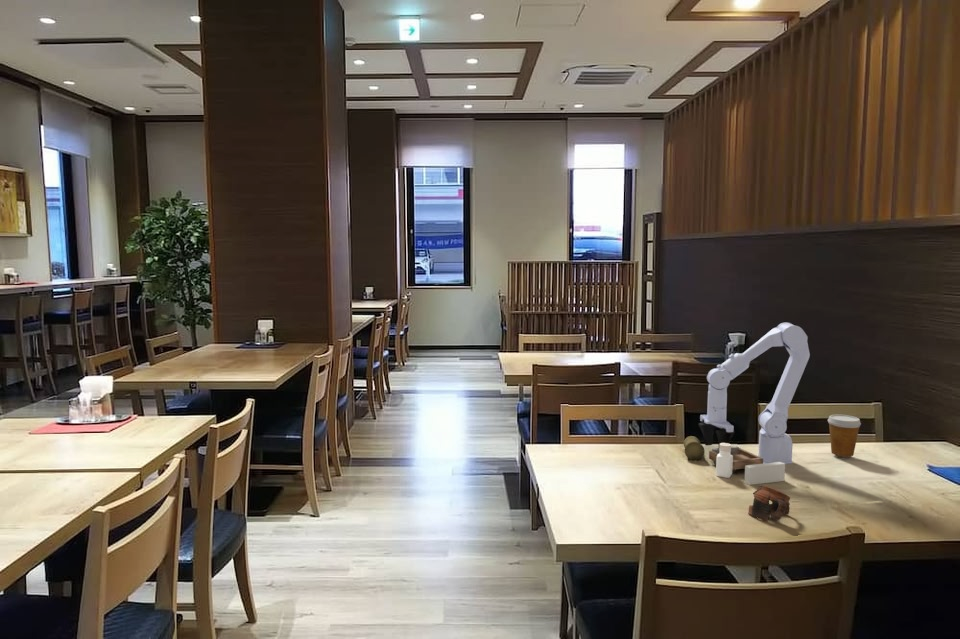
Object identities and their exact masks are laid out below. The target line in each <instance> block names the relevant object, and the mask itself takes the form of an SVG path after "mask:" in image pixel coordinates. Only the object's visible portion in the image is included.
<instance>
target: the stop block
mask: <svg viewBox="0 0 960 639" xmlns="http://www.w3.org/2000/svg"><path fill="white" fill-rule="evenodd" d="M785 476H786V464H784V463H782V462H774V463H763V464H755V465H746V466H745V468H744V483H745V484H747V485H748V486H751V485H759V484H760V485H761V484H769V483H770V484H771V483H777V482H784V481H785Z"/></svg>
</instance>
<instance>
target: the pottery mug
mask: <svg viewBox="0 0 960 639" xmlns="http://www.w3.org/2000/svg"><path fill="white" fill-rule="evenodd" d="M752 495H753V502H752V505H749V506H748V515H749V516H753V517H755V518H757V519H760V520H761V521H764V522H769V518H770V517H771V519H772V520H774V521H777V520H780V519H781V518H782V516H784V515H789V513H790V509H791V508H790V505H791V504H790V499H791V497H790V496H789V495H787V494H786V493H784V492H782V491H780V490H777V489H775V488H772V487H769V486H766V485H761V484H760V485H759V489H757V490H755V491H754V492H753V493H752ZM770 502H771V503H770Z"/></svg>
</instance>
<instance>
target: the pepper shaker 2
mask: <svg viewBox="0 0 960 639" xmlns="http://www.w3.org/2000/svg"><path fill="white" fill-rule="evenodd" d="M731 447H732V444H730V443H729V444H728V443H720V446H719V445H718V448H719V450H720V452H719V454H718V455H717V460H716V465H715V475H716V476H717V477H721V478H724V479H725V478H727V479H730V478H731V476H732V475H733V472H732V468H733V456H732V455H730V452H731Z"/></svg>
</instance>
